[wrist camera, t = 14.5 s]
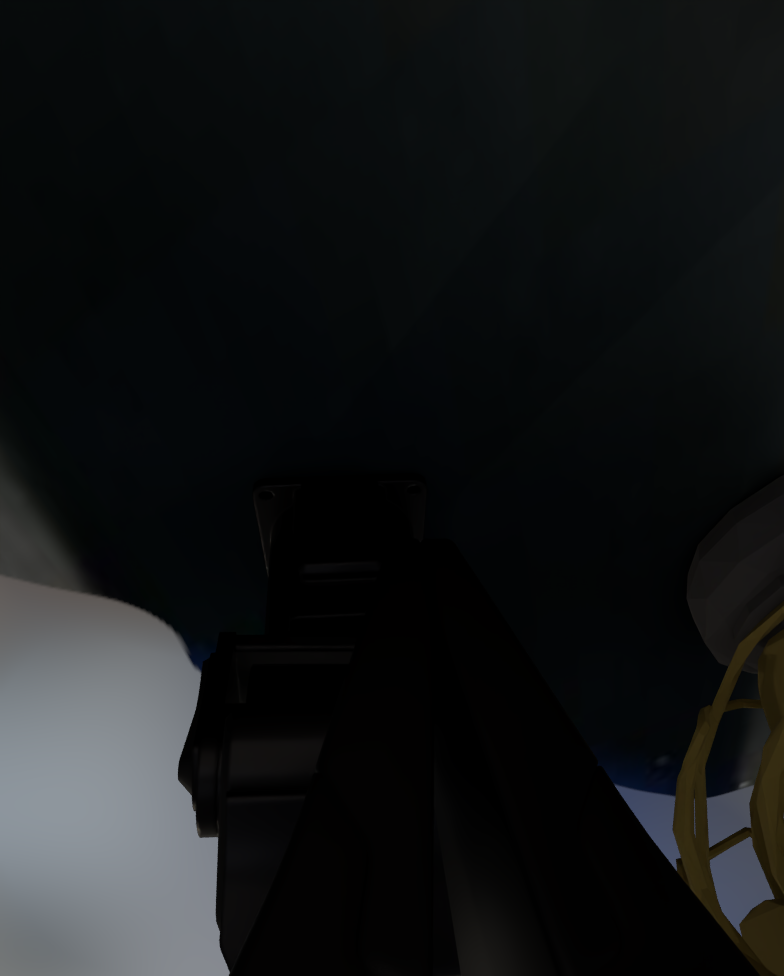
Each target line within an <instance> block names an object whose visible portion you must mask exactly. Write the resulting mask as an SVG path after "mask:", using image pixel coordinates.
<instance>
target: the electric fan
mask: <svg viewBox="0 0 784 976" xmlns="http://www.w3.org/2000/svg"><path fill="white" fill-rule="evenodd" d="M687 602H688V605H689V608H690V611H691V614H692V617H693V620H694V622H695V624H696V626H697V628H698V630H699V632H700V634H701V636H702V638H703V640H704V642H705V644H706V645H707V647H708V648H709V650H710V651H711V652H712V654H713V655H714V657H715V658H716V659H717V661H718V662H719V663H720V664H723V665H727V666H729V667H728V669H727V672H726V674H725V676H724V679H723V681H722V683H721V686H720V688H719V690H718V693H717V695H716V697H715V700H714V702H713V704H712V706H710V705H708V706H706V707H704V708H702V709H700V712H699V715H698V721H697V728H696V730H695V733H694V735H693V738H692V741H691V743H690V746H689V748H688V751H687V754H686V756H685V759H684V761H683V764H682V769H681V771H680V773H679V775H678V778H677V788H676V800H675V809H674V821H673V833H674V836H675V839H676V842H677V845H678V849H679V852H680V855H681V858H679V859H676V864H677V872H678V874H679V875H680V876H681V877H682V879H683V880H684V881H685V882H686V884H687V885H688V886H689V887H690V889H691V890H692V891H693V892H694V894H695V895H696V896H697V897H698V899H699V900H700V901H701V902H702V903H703V905H704V906H705V907H706V908H707V910H708V911H709V912H710V913H711V915H712V916H713V917H714V918H715V920H716V921H717V922H718V923H719V925H720V926H721V927H722V928H723V930H724V931H725V932H726V933H727V934H728V936H729V937H730V938H731V939H732V941H733V942H734V943H735V944H736V946H737V947H738V948H739V949H740V951H741V952H742V953H743V954H744V956H745V957H746V958H747V959H748V961H749V962H750V963H751V964H752V965H753V967H754V968H755V969H756V970H757V972H758V973H759V974H760V975H761V976H784V818H783V816H784V475H783V476H780V477H779V478H777V479H776V480H774V481H773V482H771V483H770V484H768V485H767V486H765V487H764V488H762V489H761V490H759V491H758V492H756V493H755V494H753V495H752V496H750V497H748V498H747V499H745V500H744V501H742V502H741V503H739V504H738V505H736V506H735V507H733V508H732V509H731V510H730V511H729V512H728V513H727V514H726V515H725V516H724V517H723V518H722V519H721V520H720V521H719V522H718V524H717V525H716V526H715V527H714V528H713V529H712V530H711V531H710V532H709V533H708V534H707V535H706V536H705V538H704V539H703V540H702V541H701V542H700V543H699V544H698V546H697V549H696V552H695V555H694V558H693V561H692V563H691V566H690V569H689V572H688V579H687ZM741 670H743V671H746V672H749V673H753V674H758V688H759V694H760V700H752V699H737V700H732V701H728V700H729V698H730V696H731V693H732V691H733V689H734V686H735V684H736V682H737V679H738V677H739V675H740V672H741ZM738 708H763V710H764V713H765V716H766V719H767V722H768V725H769V727H770V730H771V734H770V736H769V738H768V740H767V741H766V743H765V745H764V747H763V754H762V762H761V765H760V768H759V772H758V775H757V778H756V781H755V785H754V789H753V793H752V796H751V800H750V817H751V828H747V827H745V828H743V829H741V830H739V831H738V832H736V833H734V834H732V835H731V836H729V837H727V838H726V839H724V840H722V841H720V842H719V843H717V844H715V845H714V846H712V847H710V848H709V840H708V819H707V800H706V781H705V765H706V761H707V758H708V755H709V752H710V749H711V746H712V743H713V740H714V737H715V733H716V730H717V727H718V724H719V722H720V719H721V717H722V715H723V712H726V711H730V710H734V709H738ZM694 787H695V823H696V824H695V826H696V827H695V829H696V838H695V834H694ZM748 837H751V838H752V841H753V848H754V850H755V852H756V855H757V857H758V860H759V862H760V864H761V867H762V869H763V871H764V873H765V876H766V879H767V881H768V883H769V886H770V888H771V890H772V893H773V895H774V898H775V899H772V900H765V901H763V902H762V903H760V904H759V905H758V906H756V907H754V908H753V909H752V910H751V911H750V912H749V913H748V915H747V916H746V917H745V918H744V919H743V920H742V922H741V923H740V924H739V925H740V930H741V934H742V937H741V935H740V934H739V933H738V932H737V930H736V929H735V928H734V927H733V925H732V924H731V923H730V921H729V920H728V919H727V918H726V916H725V915H724V914H723V912H722V910H721V907H720V905H719V902H718V899H717V895H716V891H715V887H714V882H713V878H712V874H711V869H710V860H711V859H713V858H714V857H716V856H717V855H719V854H721V853H722V852H724V851H726V850H727V849H729V848H730V847H732V846H734V845H736V844H737V843H739V842H741V841H743V840H744V839H746V838H748Z"/></svg>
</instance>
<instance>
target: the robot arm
mask: <svg viewBox="0 0 784 976" xmlns="http://www.w3.org/2000/svg"><path fill="white" fill-rule="evenodd" d="M410 486H416V487H410ZM263 491H269V492H268V493H267V492H263ZM426 493H427V488H426V481H425V478H424V477H423V476H422V475H419V474H385V475H356V476H328V477H300V478H272V479H261V480H258V481H257V482H256V483H255V484H254V487H253V501H254V506H255V512H256V517H257V522H258V527H259V533H260V538H261V543H262V548H263V554H264V559H265V564H266V569H267V575H268V591H267V606H266V621H265V635H236V632H220V633H219V638H218V643H217V649H216V653H211V655H210V658H208V659H207V660H205V661H203V666H202V673H201V682H200V689H199V696H198V701H197V707H196V711H195V714H194V717H193V720H192V723H191V726H190V729H189V732H188V736H187V739H186V742H185V745H184V748H183V751H182V754H181V757H180V760H179V767H178V780H179V781H180V783H181V784H182V785H183V786H184V787H185V788H186V789H187V791H188V792H189V793H190V794H191V795H192V804H193V809H194V811H196V824H197V831H198V835H199V837H200V838H202V837H218V862H217V865H218V866H217V890H216V892H217V893H216V922H217V925H218V928H219V930H220V939H219V941H220V948H221V952H222V954H223V957H224V959H225V961H226V964H227V966H228V969H229V971H230V974H229V976H761V975H760V974H759V973H758V972H757V970H756V969H755V968H754V967H753V965H752V964H751V963H750V962H749V961H748V959H747V958H746V957H745V956H744V954H743V953H742V952H741V951H740V949H739V948H738V947H737V946H736V944H735V943H734V942H733V941H732V939H731V938H730V937H729V936H728V934H727V933H726V932H725V931H724V930H723V928H722V927H721V926H720V925H719V923H718V922H717V921H716V920H715V918H714V917H713V916H712V915H711V913H710V912H709V911H708V910H707V908H706V907H705V906H704V905H703V903H702V902H701V901H700V900H699V899H698V897H697V896H696V895H695V894H694V892H693V891H692V890H691V889H690V887H689V886H688V885H687V884H686V882H685V881H684V880H683V879H682V877H681V876H680V875H679V874H678V872H677V871H676V870H675V869H674V867H673V866H672V864H671V863H670V862H669V861H668V859H667V858H666V857H665V855H664V854H663V853H662V852H661V850H660V849H659V848H658V846H657V845H656V844H655V843H654V841H653V840H652V839H651V837H650V836H649V835H648V833H647V832H646V830H645V829H644V828H643V826H642V825H641V824H640V822H639V820H638V819H637V818H636V816H635V815H634V813H633V812H632V810H631V809H630V808H629V806H628V805H627V803H626V802H625V800H624V799H623V797H622V796H621V795H620V793H619V792H618V790H617V789H616V787H615V785H614V784H613V782H612V781H611V779H610V778H609V776H608V775H607V773H606V772H605V770H604V769H603V767H602V766H597V764H598V761H597V758H596V757H595V755H594V754H593V752H592V751H591V749H590V748H589V746H588V745H587V743H586V742H585V740H584V739H583V737H582V736H581V734H580V733H579V731H578V730H577V728H576V727H575V725H574V723H573V722H572V720H571V719H570V717H569V716H568V714H567V713H566V711H565V710H564V708H563V707H562V705H561V704H560V702H559V701H558V699H557V698H556V696H555V695H554V693H553V692H552V690H551V689H550V687H549V686H548V684H547V683H546V681H545V679H544V678H543V676H542V675H541V673H540V672H539V670H538V669H537V667H536V666H535V664H534V663H533V661H532V660H531V658H530V657H529V655H528V654H527V652H526V651H525V649H524V648H523V646H522V645H521V643H520V642H519V640H518V639H517V637H516V635H515V634H514V632H513V631H512V629H511V628H510V626H509V625H508V623H507V622H506V620H505V619H504V617H503V616H502V614H501V613H500V611H499V610H498V608H497V607H496V605H495V604H494V602H493V601H492V599H491V598H490V596H489V594H488V593H487V591H486V590H485V588H484V587H483V585H482V584H481V582H480V581H479V579H478V578H477V576H476V575H475V573H474V572H473V570H472V569H471V567H470V566H469V564H468V563H467V561H466V560H465V558H464V557H463V555H462V554H461V552H460V550H459V549H458V547H457V546H456V545H455V543H454V542H453V541H451V540H449V539H424V540H423V534H424V521H425V507H426Z"/></svg>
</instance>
